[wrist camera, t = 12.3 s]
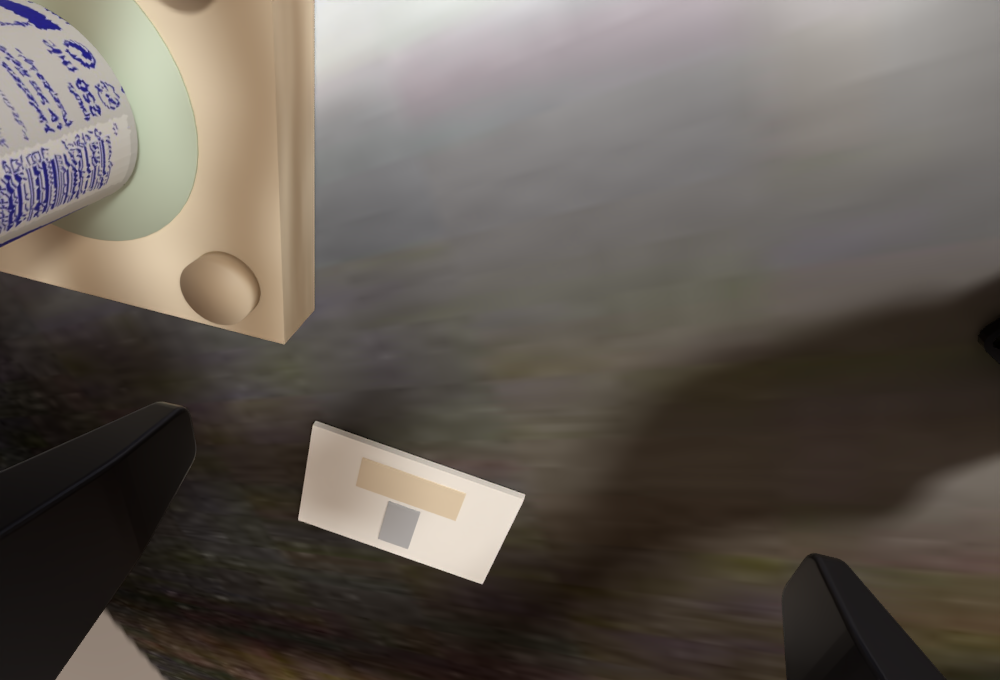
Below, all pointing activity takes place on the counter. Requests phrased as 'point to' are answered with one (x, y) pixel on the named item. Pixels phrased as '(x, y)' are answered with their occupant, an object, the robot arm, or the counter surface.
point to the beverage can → (56, 121)
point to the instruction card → (405, 503)
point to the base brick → (199, 167)
